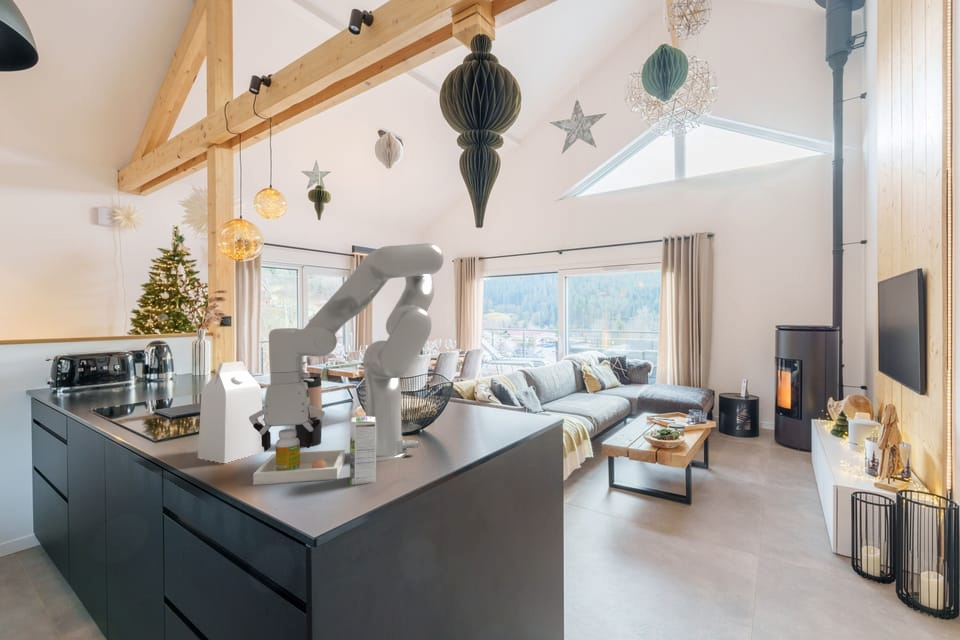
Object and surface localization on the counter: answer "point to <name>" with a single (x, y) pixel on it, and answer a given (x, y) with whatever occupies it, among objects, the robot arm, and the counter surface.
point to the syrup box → (363, 450)
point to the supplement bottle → (287, 451)
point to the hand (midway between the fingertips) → (288, 447)
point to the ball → (318, 464)
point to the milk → (229, 415)
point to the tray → (302, 468)
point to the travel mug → (316, 402)
